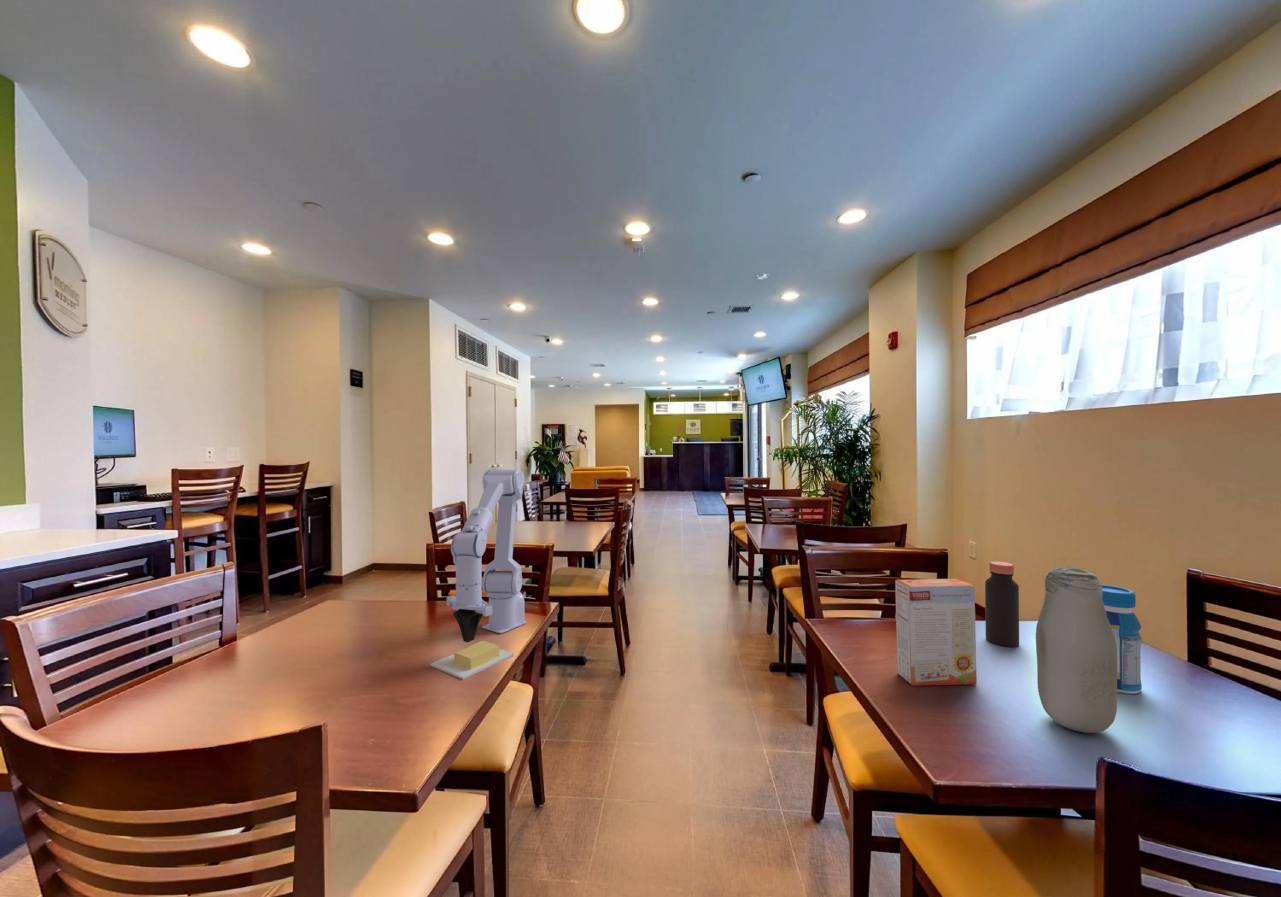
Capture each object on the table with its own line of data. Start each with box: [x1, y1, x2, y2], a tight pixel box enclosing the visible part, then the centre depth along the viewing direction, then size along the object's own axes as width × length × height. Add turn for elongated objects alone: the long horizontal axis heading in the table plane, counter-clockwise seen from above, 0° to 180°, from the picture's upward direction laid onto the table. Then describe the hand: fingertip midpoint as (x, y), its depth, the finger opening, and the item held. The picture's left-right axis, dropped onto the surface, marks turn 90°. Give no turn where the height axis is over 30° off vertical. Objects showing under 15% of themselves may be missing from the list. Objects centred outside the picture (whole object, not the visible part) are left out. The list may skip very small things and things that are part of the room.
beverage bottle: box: [1101, 584, 1143, 695], centre depth 97 cm, size 8×8×20 cm
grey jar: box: [1035, 566, 1118, 734], centre depth 82 cm, size 10×10×28 cm
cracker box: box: [894, 578, 978, 687], centre depth 99 cm, size 14×6×21 cm, turn 91°
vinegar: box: [984, 561, 1020, 648], centre depth 119 cm, size 7×7×20 cm
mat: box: [430, 648, 515, 681], centre depth 109 cm, size 14×12×1 cm
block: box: [453, 640, 501, 669], centre depth 109 cm, size 8×2×6 cm
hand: (468, 640), depth 110 cm, fingers closed
